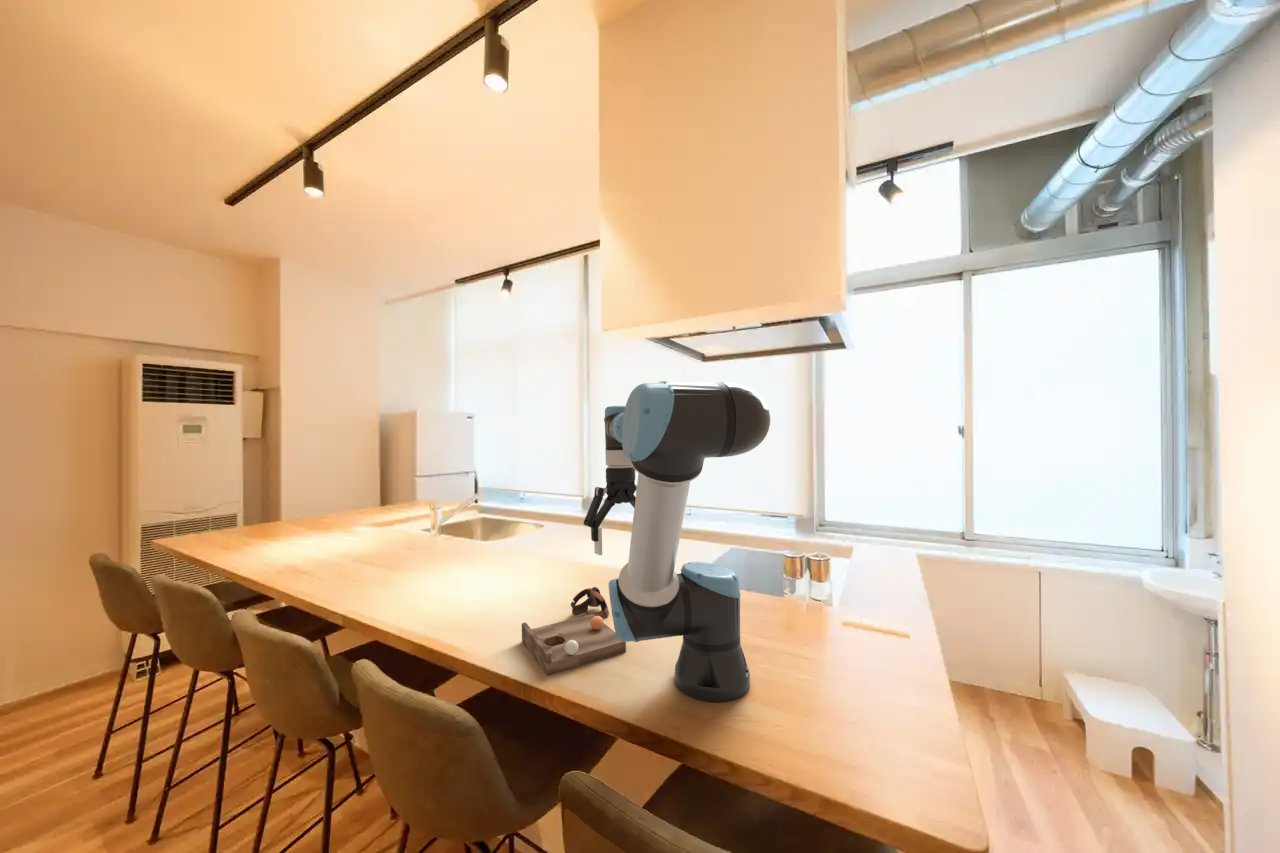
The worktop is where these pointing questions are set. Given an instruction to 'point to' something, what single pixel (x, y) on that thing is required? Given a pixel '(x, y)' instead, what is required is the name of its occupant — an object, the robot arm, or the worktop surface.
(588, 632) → the deck
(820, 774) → the worktop surface
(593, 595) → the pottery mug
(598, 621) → the ball
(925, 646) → the worktop surface
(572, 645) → the cream ball
